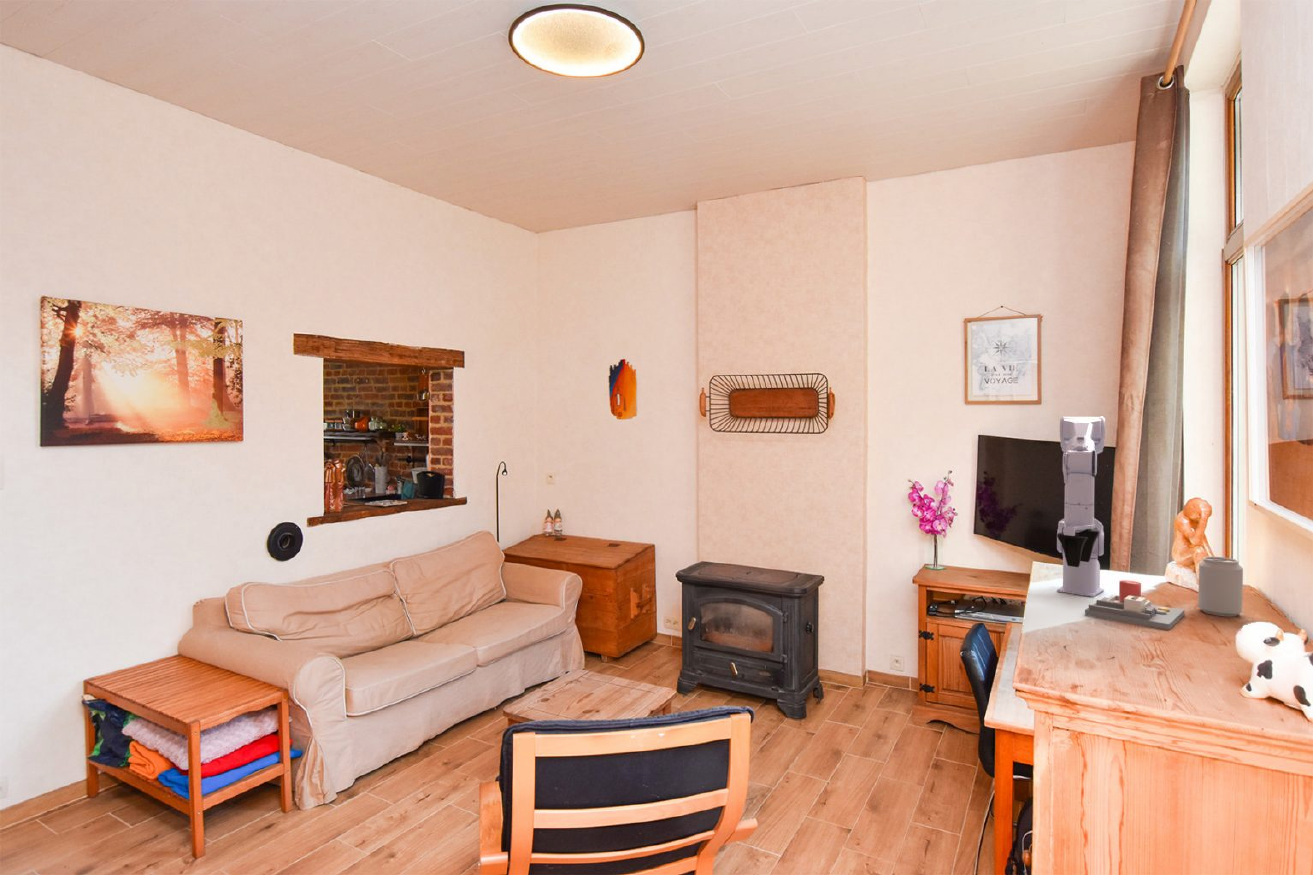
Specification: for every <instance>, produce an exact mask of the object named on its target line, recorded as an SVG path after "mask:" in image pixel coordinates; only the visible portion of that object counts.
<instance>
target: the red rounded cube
mask: <svg viewBox="0 0 1313 875" xmlns="http://www.w3.org/2000/svg"><path fill="white" fill-rule="evenodd" d="M1118 585H1119V586H1118V587H1119V588H1118V589H1119V590H1118V592H1119V593H1118V596H1119V602H1121V603H1124V598H1126V597H1127V596H1129V595H1130V596H1137V597H1142V583H1141V582H1139V581H1135V580H1125V579H1124V580H1119V584H1118Z"/></svg>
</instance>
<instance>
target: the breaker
mask: <svg viewBox="0 0 1313 875" xmlns="http://www.w3.org/2000/svg"><path fill="white" fill-rule="evenodd" d="M1146 600H1147V599H1146V597H1143V596H1141V597H1137V596H1130V595H1129V596H1127V597H1126V598H1124V610H1127V611H1133V612H1139V613H1145V604H1146Z"/></svg>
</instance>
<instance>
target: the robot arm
mask: <svg viewBox="0 0 1313 875" xmlns="http://www.w3.org/2000/svg"><path fill="white" fill-rule="evenodd" d="M1105 440H1106V418H1105V417H1104V416H1062V417H1060V419H1059V441H1060V447H1061V451H1062V452H1063V454H1062V473H1063V483H1064V484H1065V485H1064V516H1063V518H1062V519H1060V520H1059V521H1058V524H1057V533H1056V549H1057V551H1058V552H1059V553H1062V554H1061V555H1062V586H1060V587H1059V588H1057V589H1056V591H1057V592H1061V593H1067V594H1073V595H1079V596H1087V597H1091V598H1092V597H1093V598H1094V597H1096V596H1097V595H1099V594H1100V593H1102V592H1104V591H1105V588H1104V587H1100V586H1101V584H1100V583H1101V581H1100V580H1101V564H1100V562H1099V560H1098V559H1099V558H1098V557H1099V556H1100V557H1101V556H1103V555H1104V552H1105V551H1104V550H1105V548H1104V547H1105V546H1104V545H1105V544H1104V543H1105V541H1104V540H1105V532H1104V525H1103V523H1102V522H1100V521H1099V520H1098V519H1096V518H1095V477H1096V475H1097V473H1098V472H1097V468H1098V455H1099V454H1101V453H1103V452H1104V448H1105Z"/></svg>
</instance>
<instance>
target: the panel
mask: <svg viewBox="0 0 1313 875" xmlns="http://www.w3.org/2000/svg"><path fill="white" fill-rule="evenodd" d="M1095 601H1096V602H1095V603H1094V604H1088V607H1086V609H1084V616H1087V617H1091V618H1092V617H1093V618H1099V619H1104V620H1110V621H1115V622H1121V623H1126V624H1130V625H1131V624H1132V625H1137V626H1144V627H1150V628H1156V629H1159V630H1160V629H1161V630H1166V631H1170V630H1171V629H1172V628H1173V627H1174V626H1175V625H1176V624H1177V623H1179V621H1180V620H1182V618H1183V617H1184V616H1185V609H1182V608H1174V607H1169V606H1168V607H1167V606H1163V605H1156V604H1151V601H1150V600H1149V599H1146V604H1145V613H1139V612H1133V611H1127V610H1124V603H1121V602H1119V594H1117V595H1116V594H1115V595H1113V594H1112V595H1111V596H1109V597H1105V596H1104V597H1103V598H1101V599H1096V600H1095Z"/></svg>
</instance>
